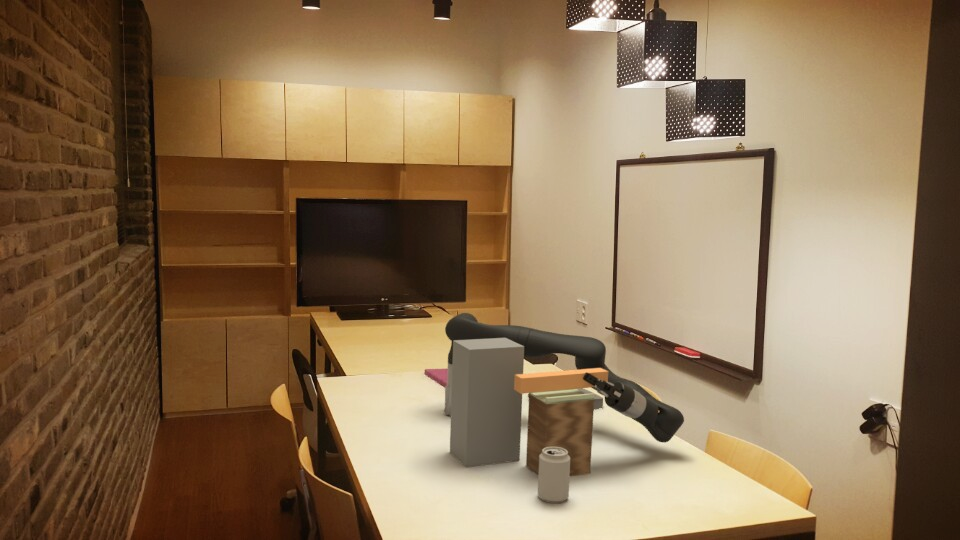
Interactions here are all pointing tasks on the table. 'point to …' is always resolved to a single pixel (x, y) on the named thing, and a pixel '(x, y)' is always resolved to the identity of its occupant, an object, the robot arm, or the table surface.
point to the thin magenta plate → (438, 375)
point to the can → (554, 474)
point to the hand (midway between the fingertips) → (580, 373)
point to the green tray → (562, 396)
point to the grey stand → (486, 401)
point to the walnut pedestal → (560, 432)
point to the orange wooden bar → (556, 380)
